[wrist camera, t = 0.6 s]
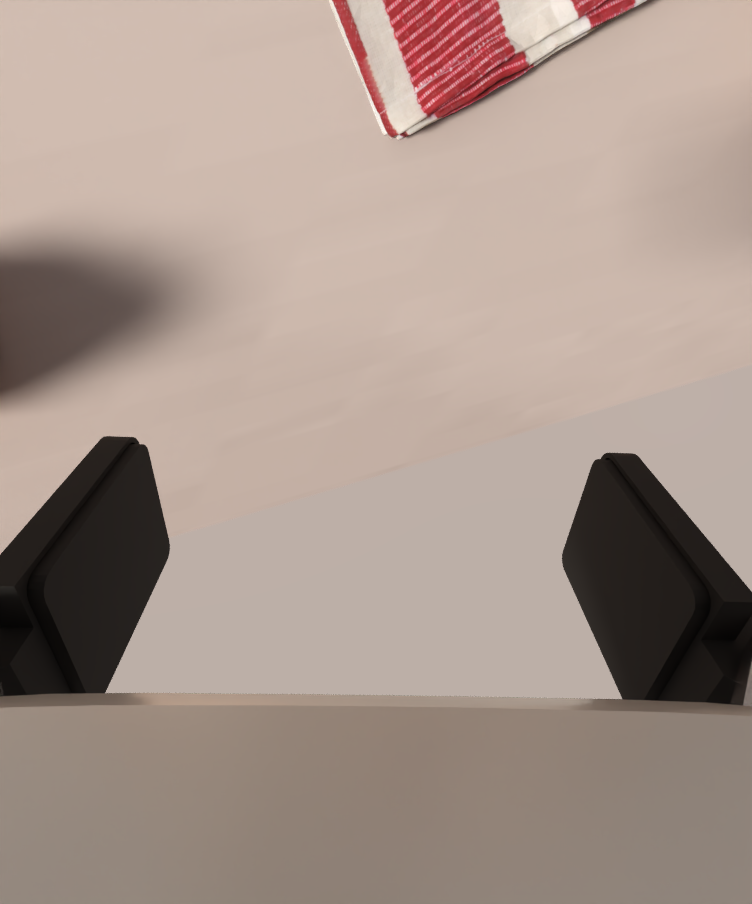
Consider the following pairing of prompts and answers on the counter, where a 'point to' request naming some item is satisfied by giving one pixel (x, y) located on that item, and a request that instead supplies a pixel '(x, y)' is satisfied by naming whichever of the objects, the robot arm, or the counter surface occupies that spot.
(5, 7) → the counter surface
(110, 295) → the counter surface
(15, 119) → the counter surface
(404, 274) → the counter surface
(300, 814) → the robot arm
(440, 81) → the dish towel
